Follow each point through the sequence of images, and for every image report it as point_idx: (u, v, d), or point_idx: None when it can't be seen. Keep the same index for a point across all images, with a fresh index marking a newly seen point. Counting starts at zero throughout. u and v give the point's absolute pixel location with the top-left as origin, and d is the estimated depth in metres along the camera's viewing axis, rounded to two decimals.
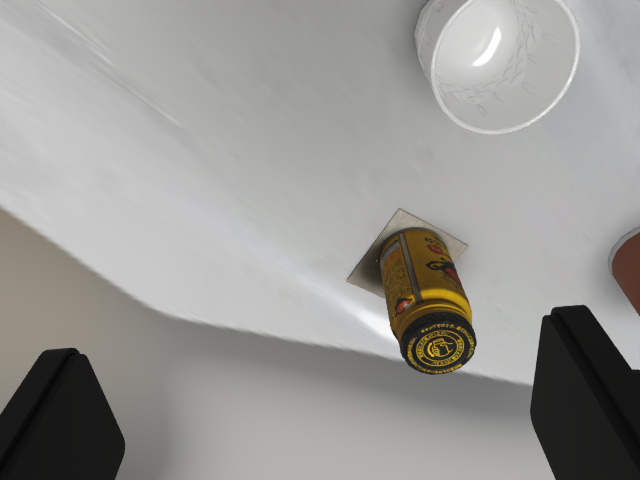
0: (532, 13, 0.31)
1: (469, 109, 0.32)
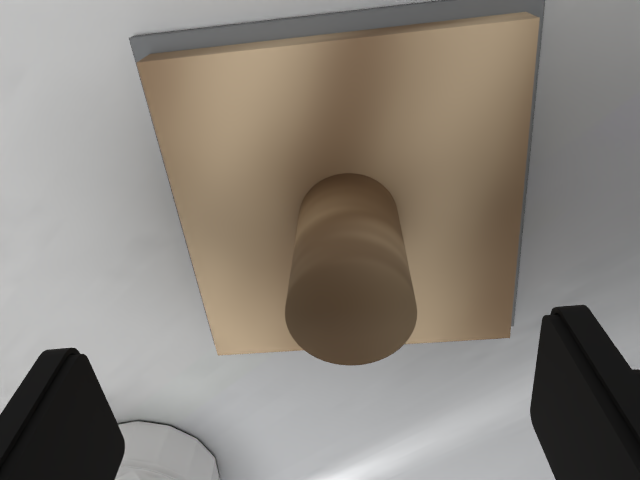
0: None
1: None
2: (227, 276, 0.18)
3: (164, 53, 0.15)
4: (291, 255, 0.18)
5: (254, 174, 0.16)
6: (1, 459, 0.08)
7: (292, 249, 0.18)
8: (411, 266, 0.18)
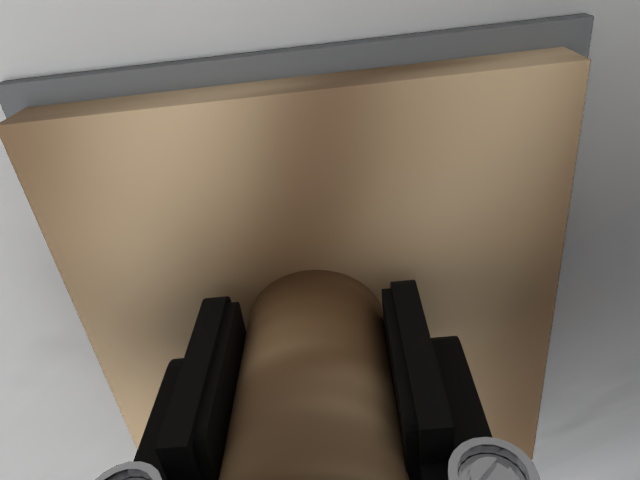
0: None
1: None
2: None
3: (45, 107, 0.11)
4: None
5: (183, 272, 0.12)
6: (204, 383, 0.09)
7: None
8: None
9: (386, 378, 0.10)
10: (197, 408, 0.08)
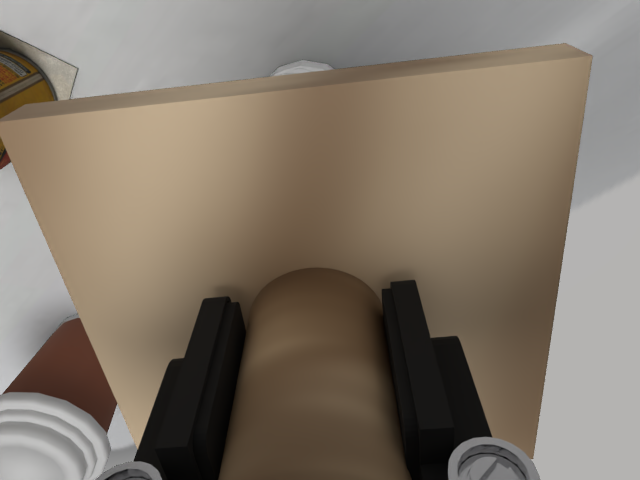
0: None
1: None
2: None
3: (44, 104, 0.11)
4: None
5: (183, 270, 0.12)
6: (204, 383, 0.09)
7: None
8: None
9: (387, 376, 0.10)
10: (197, 408, 0.08)
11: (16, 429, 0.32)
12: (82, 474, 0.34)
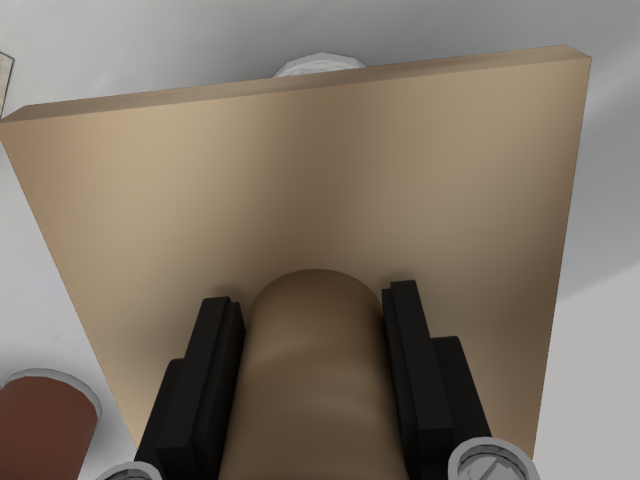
0: None
1: None
2: (156, 396, 0.14)
3: (44, 105, 0.11)
4: None
5: (182, 271, 0.12)
6: (204, 383, 0.09)
7: None
8: None
9: (386, 377, 0.10)
10: (197, 408, 0.08)
11: None
12: None
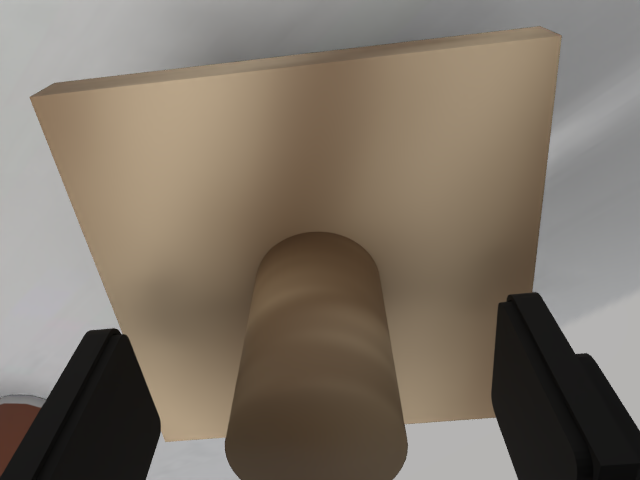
0: None
1: None
2: (170, 354, 0.15)
3: (72, 82, 0.12)
4: None
5: (196, 234, 0.13)
6: (58, 429, 0.08)
7: None
8: (398, 339, 0.14)
9: (380, 321, 0.11)
10: (42, 459, 0.08)
11: None
12: None
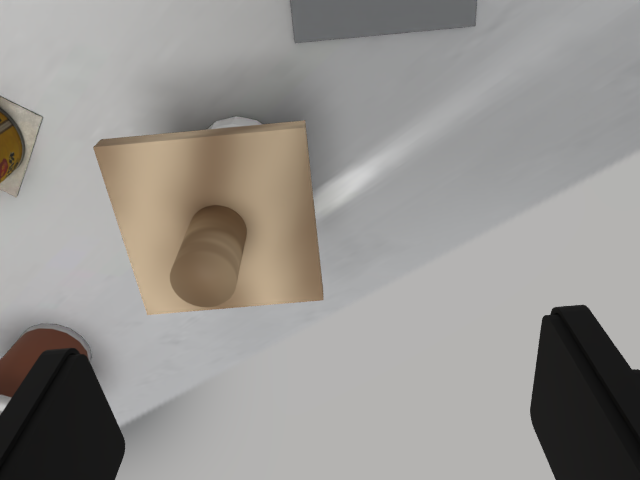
0: None
1: None
2: (150, 265, 0.31)
3: (109, 139, 0.28)
4: None
5: (162, 206, 0.29)
6: (1, 459, 0.08)
7: None
8: (258, 257, 0.31)
9: (235, 239, 0.27)
10: None
11: None
12: None
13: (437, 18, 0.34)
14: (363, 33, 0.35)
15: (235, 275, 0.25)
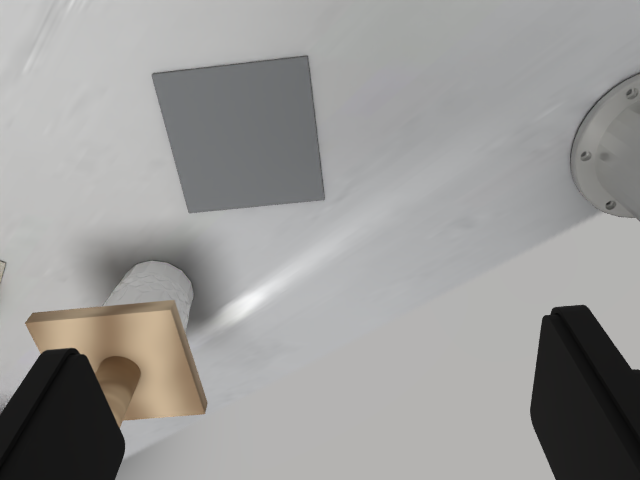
0: None
1: None
2: None
3: (38, 313, 0.39)
4: None
5: None
6: (1, 459, 0.08)
7: None
8: (151, 387, 0.42)
9: (123, 387, 0.38)
10: None
11: None
12: None
13: (294, 195, 0.45)
14: (240, 206, 0.46)
15: (118, 419, 0.37)
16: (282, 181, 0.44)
